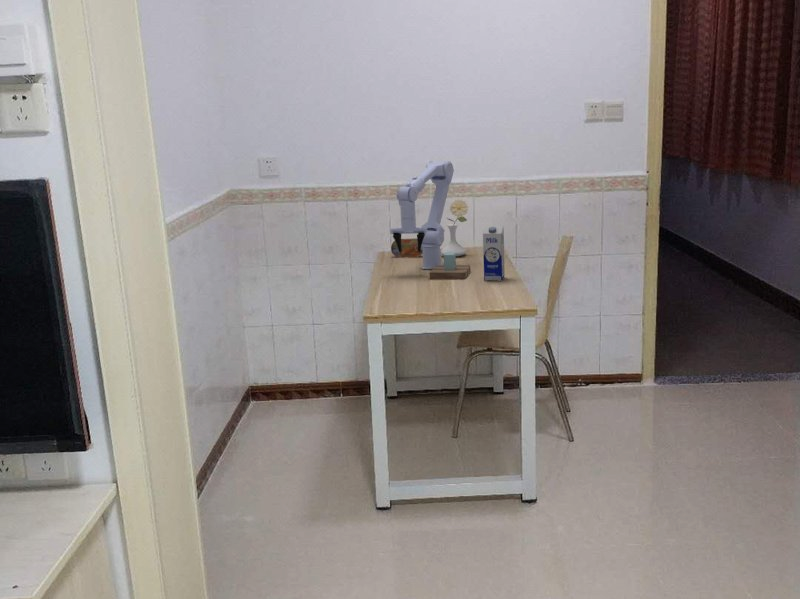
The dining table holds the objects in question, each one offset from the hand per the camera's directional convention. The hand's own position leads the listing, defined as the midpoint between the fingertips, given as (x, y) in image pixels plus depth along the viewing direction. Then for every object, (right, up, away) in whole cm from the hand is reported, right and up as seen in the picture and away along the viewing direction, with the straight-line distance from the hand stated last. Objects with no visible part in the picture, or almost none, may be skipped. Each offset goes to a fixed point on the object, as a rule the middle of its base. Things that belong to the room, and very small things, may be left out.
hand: (409, 251), depth 313 cm
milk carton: (+32, -11, -13) cm, 36 cm away
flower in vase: (+21, 0, +37) cm, 42 cm away
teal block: (+16, -7, -3) cm, 17 cm away
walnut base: (+16, -9, -2) cm, 19 cm away
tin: (0, 0, +40) cm, 40 cm away
